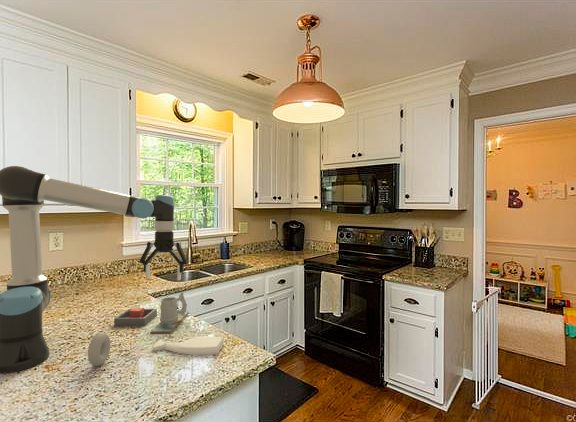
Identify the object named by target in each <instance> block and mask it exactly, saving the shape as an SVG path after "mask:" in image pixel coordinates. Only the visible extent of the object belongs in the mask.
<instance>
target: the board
mask: <svg viewBox="0 0 576 422" xmlns="http://www.w3.org/2000/svg"><path fill="white" fill-rule="evenodd" d="M189 314H190V312H189V311H186V312H185V314H184V316H182V315H181V314H178V321H177V322H176V323H173V324H161V321H160V322H159V323H158V324H157V325H155V327H154V328H152V329H151V331H149V333H150V334H173V332H174V331H175V330H176V329H177V327H178V326H179V325H180V324H181V323H182V322H183V321H184V320H185V319H186V317H187V316H188V315H189ZM183 319H184V320H183ZM182 320H183V321H182ZM175 328H176V329H175Z"/></svg>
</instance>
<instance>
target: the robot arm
mask: <svg viewBox="0 0 576 422" xmlns="http://www.w3.org/2000/svg"><path fill="white" fill-rule="evenodd" d="M0 196H1V200H2V201H1V202H2V204H1V206H2V208H3V209H5V210H7V211H8V227H9V246H10V263H11V279H10V280H9V281H8V282H7V283H6V290H5V291H3V292H1V293H0V374H10V373H15V372H16V373H17V372H20V371H24V370H27V369H29V368H33V367H35V366H38V365H40V364H42V363H43V362H45V361H46V360H47V359H48V358H49V357H50V348H49V346H48V344H47V342H46V340H45V336H44V335H43V314H44V312H45V310H46V309H47V307H48V306H49V304H50V301H51V298H52V296H51V292H50V289H49V281H48V280H49V279H48V277H47V276H45V275H44V274H43V264H42V263H43V262H42V261H43V259H42V244H41V243H42V241H41V239H42V238H41V224H40V223H41V222H40V219H41V218H40V210H41V209H42V208H43V207H44V206H45V201H49V202H54V203H58V204H64V205H69V206H75V207H80V208H86V209H91V210H92V209H93V210H97V211H101V212H109V213H114V214H118V215H124V217H127V218H138V219H147V218H155V219H154V230H155V232H154V242H153V241H148V242H147V243H146V247H145V249H144V252H143V253H142V255H141V257H140V259H139V261H138V263H140V264H143V272H144V273H145V281H148V280H151V263H150V262H151V261H152V260H153V258H154V257H155V256H156V255H157V254H158V253H165V254H166V253H169V254H170V255H171V256H172V257H173V259H174V260H175V261H176V262H177V263H178V265H177V268H176V270H177V275H176V276H177V281H181V280H182V273H183V272H184V265H185V264H188V263H189V260H188V258H187V256H186V254H185V252H184V249H183V247H182V243H181V241H178V242H174V231H173V230H174V227H175V226H174V225H175V223H174V221H175V219H174V218H175V217H174V216H175V201H174V199H175V198H174V196H172V195H166V194H160V195H159V194H157V195H156V196H155V199H148V198H145V197H138V196H134V195H130V194H129V195H128V194H124V193H120V192H116V191H110V190H105V189H100V188H97V187H92V186H88V185H82V184H78V183H74V182H73V183H72V182H69V181H65V180H60V179H54V178H50V177H49V175H48V174H46V173H40V172H37V171H34V170H32V169H28V168H27V167H25V166H20V165H19V166H18V165H11V166H7V167H3V168H1V169H0ZM174 246H175V248H176V250H177V251H178V253H177V252H176V251H175V249H174V248H173V247H174ZM153 247H154V248H155V249H154V250H153V251H152V252H151V254H149V253H150V251H151V249H152V248H153ZM178 254H179V255H178ZM148 255H149V256H148Z"/></svg>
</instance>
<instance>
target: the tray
mask: <svg viewBox="0 0 576 422" xmlns="http://www.w3.org/2000/svg"><path fill="white" fill-rule="evenodd" d="M132 309H133V308H128V309H127V310H125V311H124V312H122V313H120V314H119V315H117V316H116V317H115V318H114V319H113V326H114V327H120V326H121V327H127V326H128V327H129V326H130V327H137V326H140V327H142V326H143V327H144V326H147V324H149V322H151V321H152V320H153V319H155V318H156V317H157V315H158V308H144V318H129V311H130V310H132Z"/></svg>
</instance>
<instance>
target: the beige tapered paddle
mask: <svg viewBox="0 0 576 422" xmlns="http://www.w3.org/2000/svg"><path fill="white" fill-rule="evenodd" d="M223 346H224V338H223V337H222V336H207V335H206V336H205V335H204V336H196V337H191V338H190V339H187V340H185V341H183V342H175V341H174V342H173V340H170V341H169V340H167V341H166V340H165V341H163V339H162V338H161V339H159V340H157V342H156V343H154V344H153V345H152V350H153V352H155V351H159V350H165V351H168V352H169V351H170V352H173V353H177V354H180V355H181V354H183V355H194V356H206V355H208V356H210V355H211V356H212V355H213V356H214V355H217V354H219V352H220V351H221V349H222V347H223Z"/></svg>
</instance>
